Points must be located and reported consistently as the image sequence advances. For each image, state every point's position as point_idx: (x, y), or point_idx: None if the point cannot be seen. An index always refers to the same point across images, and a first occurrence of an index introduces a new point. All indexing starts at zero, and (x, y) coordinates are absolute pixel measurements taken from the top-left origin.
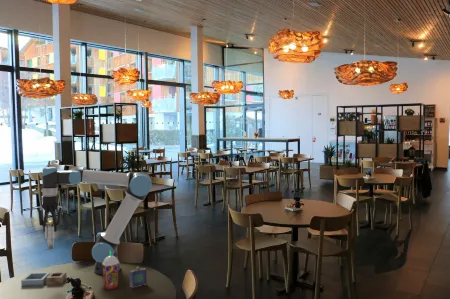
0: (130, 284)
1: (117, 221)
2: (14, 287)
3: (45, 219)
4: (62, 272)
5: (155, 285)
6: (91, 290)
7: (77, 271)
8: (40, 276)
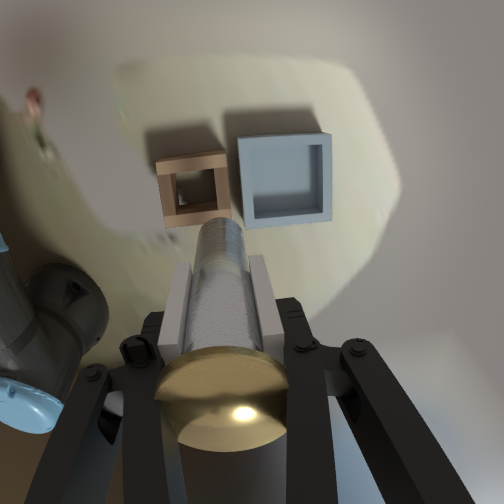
0: None
1: None
2: (346, 129)
3: (299, 424)
4: (180, 220)
5: None
6: (28, 116)
7: (166, 293)
8: (282, 212)
